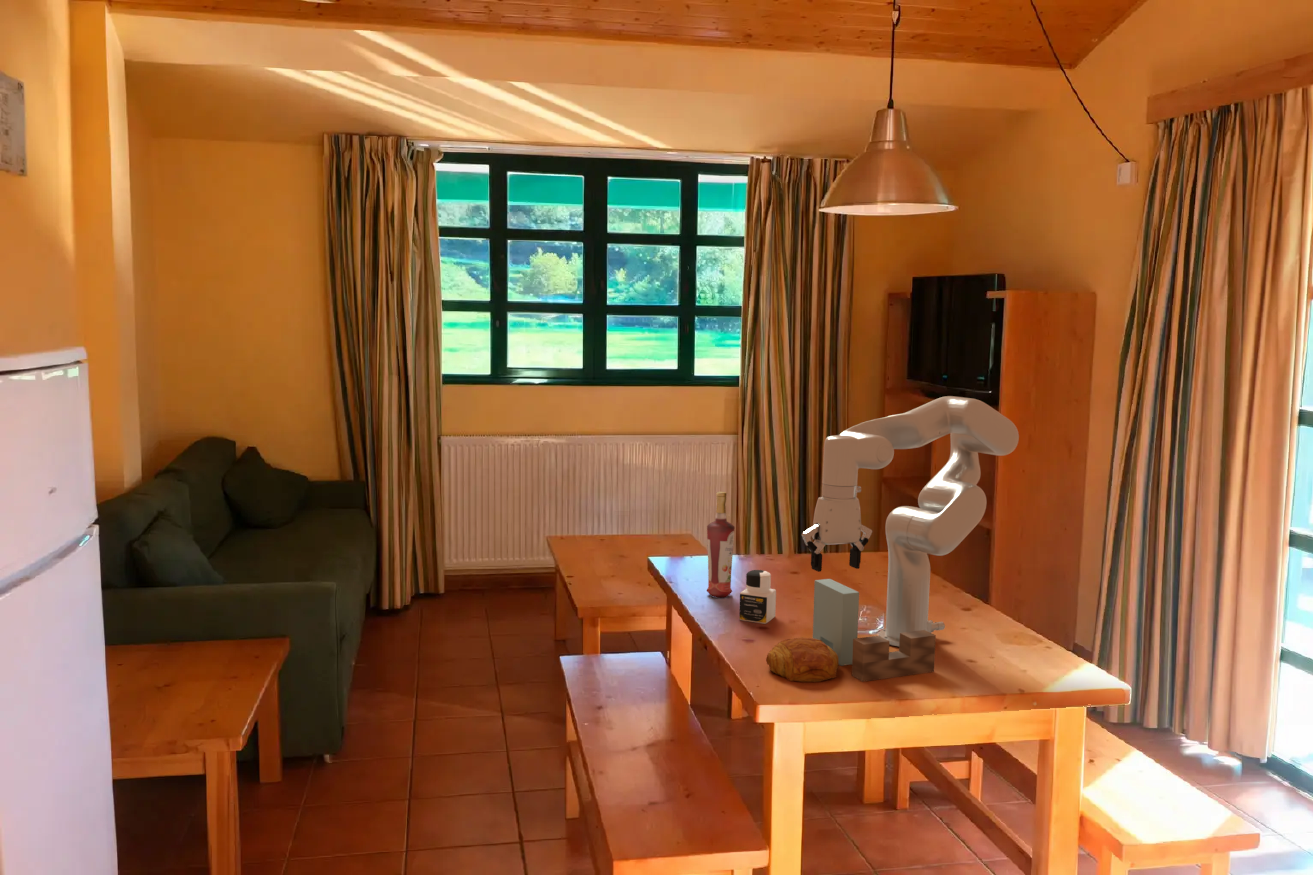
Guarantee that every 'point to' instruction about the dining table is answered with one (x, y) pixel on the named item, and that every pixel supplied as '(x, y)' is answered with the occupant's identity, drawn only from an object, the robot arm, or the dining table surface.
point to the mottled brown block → (893, 656)
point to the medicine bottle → (757, 598)
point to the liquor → (720, 551)
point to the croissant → (803, 660)
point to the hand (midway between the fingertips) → (835, 568)
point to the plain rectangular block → (836, 617)
